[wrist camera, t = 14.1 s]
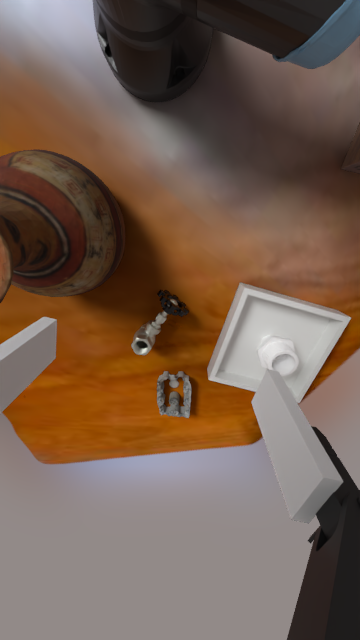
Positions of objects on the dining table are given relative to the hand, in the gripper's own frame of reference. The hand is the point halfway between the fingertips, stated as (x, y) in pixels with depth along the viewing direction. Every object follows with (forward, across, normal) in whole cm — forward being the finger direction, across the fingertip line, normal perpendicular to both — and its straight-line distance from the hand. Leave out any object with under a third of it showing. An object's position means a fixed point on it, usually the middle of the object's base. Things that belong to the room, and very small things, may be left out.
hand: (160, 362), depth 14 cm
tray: (+31, +21, -10) cm, 39 cm away
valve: (+31, -2, -11) cm, 33 cm away
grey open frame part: (+31, +5, -27) cm, 42 cm away
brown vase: (+31, -20, +2) cm, 37 cm away
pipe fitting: (+30, +21, -10) cm, 38 cm away
